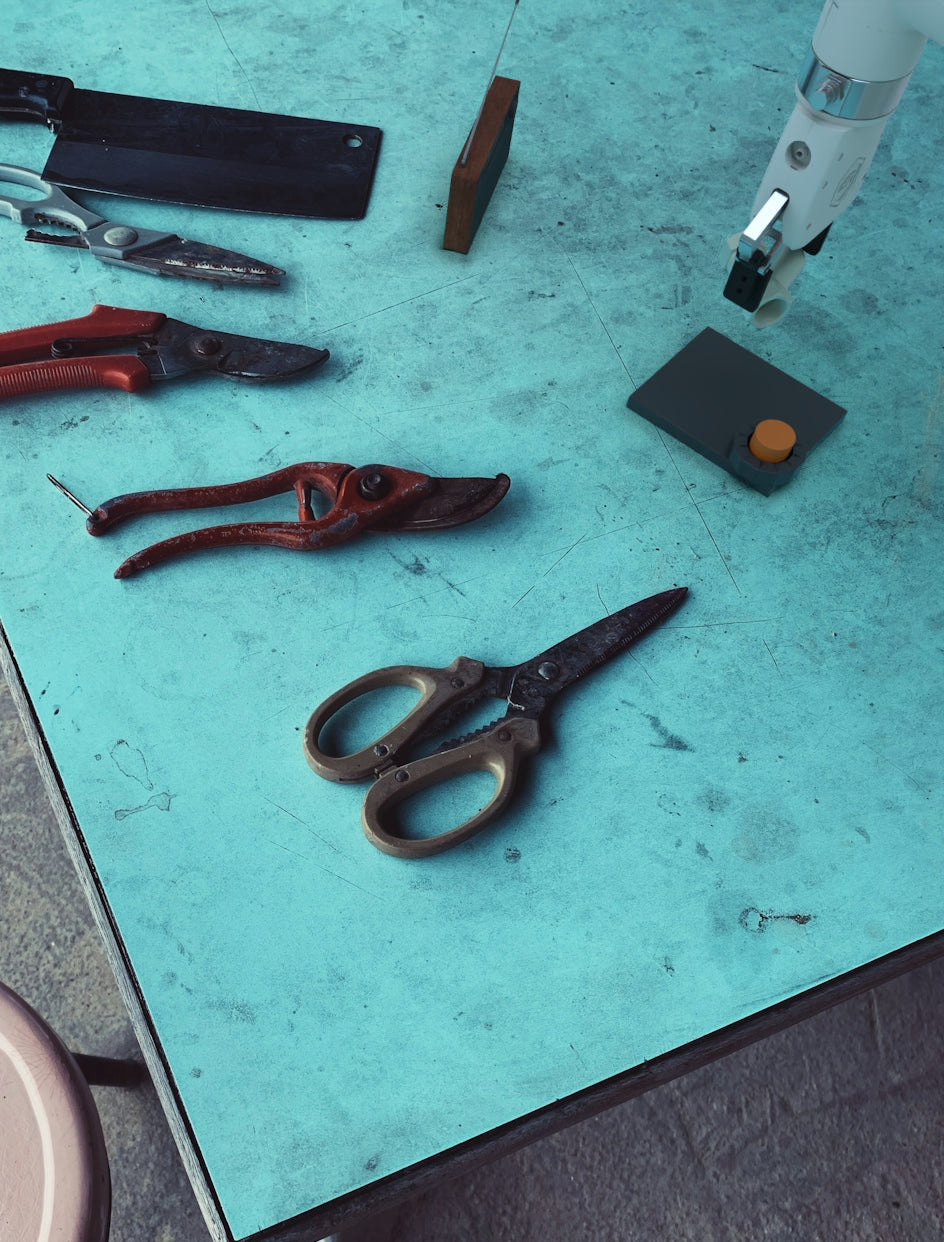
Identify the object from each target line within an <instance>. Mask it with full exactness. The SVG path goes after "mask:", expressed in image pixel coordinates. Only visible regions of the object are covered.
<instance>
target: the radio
mask: <svg viewBox="0 0 944 1242" xmlns="http://www.w3.org/2000/svg"><path fill="white" fill-rule="evenodd" d="M519 3H520V0H515V1H514V8H513V10H512V12H511V13H512V14H511V17H510V19H509V22H508V25H507V27H506V31H505V34H504V37H503V40H502V43H501V46H500V48H499V52H498V54H497V57H496V60H495V63H494V66H493V68H492V72H491V74H490V78H489V80H488V83H487V86H486V90H485V92H484V95H483V98H482V101H481V104H480V106H479V109H478V111H477V114H476V118H475V120H474V122H473V124H472V126H471V128H470V131H469V133H468V135H467V137H466V140H465V142H464V144H463V146H462V148H461V151H460V153H459V156H458V157H457V160H456V162H455V165H454V166H453V169H452V172H451V176H450V182H449V191H448V200H447V209H446V215H445V216H446V217H445V225H444V231H443V241H442V248H444V249H447V250H451V251H455V252H459V253H463V254H469V253H470V250H471V248H472V245H473V242H474V241H475V238H476V236H477V233H478V231H479V229H480V226H481V224H482V221H483V219H484V217H485V214H486V212H487V209H488V207H489V205H490V202H491V200H492V197H493V195H494V193H495V190H496V188H497V186H498V183H499V181H500V178H501V176H502V174H503V172H504V169H505V166H506V164H507V161H508V159H509V156H510V155H509V154H510V150H511V144H512V138H513V132H514V126H515V119H516V114H517V112H518V111H517V110H518V105H519V96H520V90H521V85H522V84H521V83H522V81H521V80H518V79H513V78H510V77H506V76H501V75H497V74H495V72H496V70H497V66H498V64H499V61H500V58H501V53H502V50H503V48H504V45H505V42H506V39H507V36H508V34H509V31H510V27H511V25H512V21H513V19H514V15H515V12H516V10H517V6H518V5H519Z"/></svg>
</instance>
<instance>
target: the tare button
mask: <svg viewBox="0 0 944 1242" xmlns="http://www.w3.org/2000/svg"><path fill="white" fill-rule="evenodd" d="M795 440H796V435H795V432H794V430H793V429H792V428H791V427H790V426H789V425H788V424H786V423H784V422H782V421H779V420H765V421H763V422H761V423H760V424H758V426H757V427H756V429H755V431H754V434H753V436H752V438H751V440H750V443H749V448H750V451H751V453H752V454H753V455H754V456H755V457H756V458H757V459H759V460H761V461H763V462H767V463H779V462H782V461H784V460H785V459H786V458H787V457H788V455H789V453H790V451H791V449H792V447H793V445H794V443H795Z"/></svg>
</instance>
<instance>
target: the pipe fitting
mask: <svg viewBox="0 0 944 1242" xmlns="http://www.w3.org/2000/svg"><path fill="white" fill-rule="evenodd" d="M745 230H746V229H744V230H741V231H739V232H736V233H735V234H733V235H731V236H729V237H728V238H726V240H725V241H724V242H723V244H722V246H721V248H720V251H719V254H718V256H717V257H718V258H717V260H718V263H719V265H720V267H721V269H722V271H724V272H725V273H727V274H728V276H729V275H730V272H731V270H732V267H733V264H734V262H735V255H736V252H737V247H738V246H739V239H740V237H741V235H742V234H743V232H744V231H745ZM759 250H761V251H763V253H764V255H765V257H766V255H767V254H768V252H767V251H768V247H767V245H766V242H765V241H764V239H763V240H762V242H761V246H760V248H759ZM805 266H806V255H805V252H804V251H803V250H802V248H799V249H796V250H791V249H790V247H788V246H786V245H785V246H784V247H783V249H782V250H781V252H780V253H779V255H778V256H777V258H776V260H775V261H774V263H773V264H772V266H771V267H770V269H771V270H772V271H773V273H772V276H771V278H770V281H769V283H768V285H767V288H766V290H765V293H764V295H763V297H762V300H761V302H760V305H759V307H758V309H757V310H756V311H754V312H753V313H750V312H748V311H747V310H745V309H743V308H741V313H742V314H743V316H744V319H745V321H746V322H747V323H748V324H750V325H751V326H752V327H754V328H755V329H757V330H764V329H767V328H770V327H772V326H775V325H776V324H779V323H780V322H781V321H784V319H785V318H786V316H787V315H788V313H789V311H790V309H791V307H792V304H793V302H794V299H793V297H792V295H791V293H790V291H789V290H788V289H789V288H790V287H791V286H792V284H793V283H794V281H795V280H796V279H797V278H798V276H799V275H800V274H801V273H802V272H803V270H804V268H805Z"/></svg>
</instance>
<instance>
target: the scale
mask: <svg viewBox="0 0 944 1242" xmlns="http://www.w3.org/2000/svg"><path fill="white" fill-rule="evenodd" d="M625 407H626V408H627V409H629V410H630V411H632V412H634V413H635V414H637V415H638V416H639V417H640V418H642V419H644V420H646V421H648V422H649V423H650V424H652V425H653V426H655V427H656V428H657V429H660V430H661V431H663V432H664V433H666V434H668V435H669V436H670V437H672V438H674V439H675V440H677V441H678V442H680V443H681V444H683V445H685V446H686V447H687V448H688V449H689V448H690V449H691V450H692V451H694V452H695V453H697V454H699V456H702V457H703V458H705V459H706V460H708V461H709V462H711V463H712V464H713V465H715V466H717V467H718V468H720V469H721V470H723V471H724V472H726V473H728V474H729V475H731V476H733V477H734V478H735V479H737V480H739V481H740V482H742V483H743V484H745V485H747V486H748V487H749V488H751V489H752V490H754V491H755V492H757V493H759V494H760V495H762V496H763V497H765V498H769V497H770V496H771V495H772V494H773V493H774V492H775V491H776V490H777V489H778V488H779V487H780V486H781V485H784V484H788V483H790V482H791V481H792V480H793V479H794V478H795V477H796V476H797V475H798V474H799V473H800V471H801V469H802V468H803V466H804V464H805V462H806V460H807V458H808V457H809V456H810V455H811V454H813V452H814V451H815V450H816V449H817V447H819V446H820V445H821V444H822V443H823V442H824V441H825V440H826V439H827V438H828V437H829V436H830V435H831V434H832V433H833V432H834V431H835V430H836V428H838V426H840V424H842V422H843V421H844V420H845V418H846V416H847V415H848V412H849V410H847V409H846V408H844V407H842V406H840V405H839V404H837V403H836V402H834V401H833V400H831V399H830V398H827V396H824V395H822V394H821V393H819V392H818V391H816V390H815V389H813V388H811V387H809V386H807V384H804V383H803V382H801V381H800V380H798V379H797V378H795V377H793V376H791V375H789V374H788V373H786V372H784V371H783V370H781V369H780V368H779V367H777V366H775V365H774V364H771V363H770V362H768V361H767V360H765V359H763V358H762V357H760V356H759V355H757V354H755V353H753V352H752V351H750V350H748V349H747V348H745V347H743V346H742V345H740V344H739V343H737V342H735V341H734V340H732V339H730V338H729V337H728V336H726V335H724V334H722V333H720V332H719V331H717V330H716V329H714V328H713V327H711V326H709V325H707V326H706V327H705V328H704V329H703V330H701V332H699V333H698V334H697V335H695V337H694V338H693V339H691V340H690V341H689V342H688V343H687V344H686V345H685V346H684V347H682V348H681V349H680V350H679V351H678V352H677V353H676V354H674V355H673V356H672V357H671V358H670V359H669V360H668V361H667V362H666V363H665V364H664V365H662V366H661V367H660V368H659V369H658V370H657V371H656V372H654V373H653V374H652V375H651V376H650V377H649V378H648V379H647V380H646V381H644V382H643V383H642V384H641V385H640V386H639V387H638V388H637V389H636V390H634V391H633V392H632V393H631V394H630V395H629V396H628V399H627V402H626V405H625ZM765 420H779V421H782V422H784V423H786V424H788V425H789V426H790V427H791V428H792V429H793V430H794V432H795V435H796V440H795V443H794V445H793V447H792V449H791V451H790V453H789V455H788V457H787V458H786V459H785V460H784V461H782V462H779V463H767V462H763V461H761V460H759V459H757V458H756V457H755V456H754V455H753V454H752V453H751V451H750V448H749V443H750V440H751V438H752V436H753V434H754V431H755V429H756V427H757V426H758V424H760V423H761V422H763V421H765Z"/></svg>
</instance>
